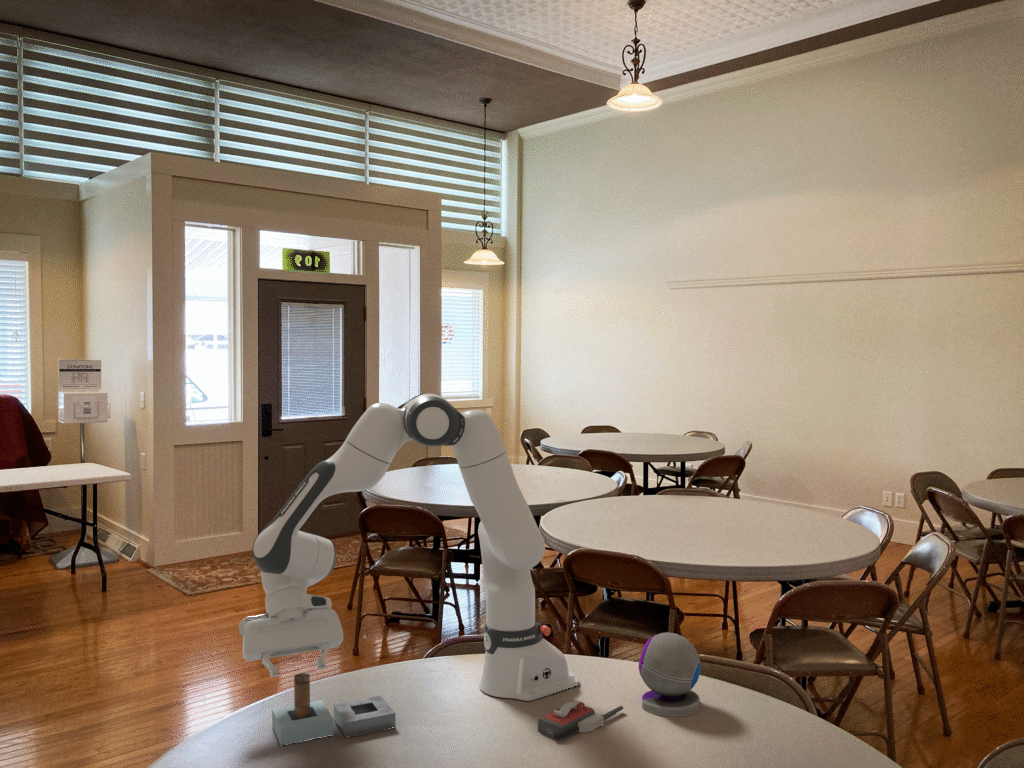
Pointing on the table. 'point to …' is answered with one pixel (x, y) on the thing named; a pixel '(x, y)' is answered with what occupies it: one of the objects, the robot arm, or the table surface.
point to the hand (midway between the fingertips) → (298, 671)
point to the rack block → (302, 723)
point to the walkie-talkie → (572, 720)
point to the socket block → (364, 716)
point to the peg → (302, 696)
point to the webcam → (670, 675)
